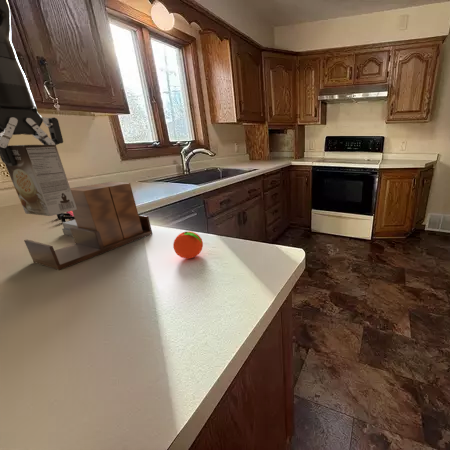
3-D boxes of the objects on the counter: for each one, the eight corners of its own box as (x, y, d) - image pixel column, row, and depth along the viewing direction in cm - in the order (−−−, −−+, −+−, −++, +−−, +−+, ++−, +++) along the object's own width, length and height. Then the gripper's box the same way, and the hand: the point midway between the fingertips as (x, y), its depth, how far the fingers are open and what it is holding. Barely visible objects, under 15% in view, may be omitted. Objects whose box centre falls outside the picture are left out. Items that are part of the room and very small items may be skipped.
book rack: (58, 270, 59) (30, 201, 53) (33, 262, 64) (4, 197, 58) (152, 233, 81) (139, 181, 75) (128, 229, 85) (114, 180, 79)
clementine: (213, 253, 65) (209, 228, 63) (195, 265, 59) (189, 238, 57) (190, 249, 68) (185, 226, 66) (169, 261, 62) (164, 235, 60)
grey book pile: (83, 238, 79) (78, 226, 77) (63, 234, 83) (59, 223, 81) (109, 230, 85) (106, 219, 84) (90, 226, 90) (87, 216, 88)
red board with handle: (70, 229, 86) (119, 219, 97) (67, 221, 85) (118, 212, 96) (55, 216, 104) (98, 208, 115) (52, 209, 103) (96, 202, 114)
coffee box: (23, 214, 60) (-6, 145, 54) (54, 207, 66) (31, 144, 60) (49, 216, 57) (22, 144, 52) (79, 209, 63) (57, 144, 58)
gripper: (38, 91, 60) (62, 161, 65) (-59, 79, 47) (-20, 167, 53) (55, 88, 57) (79, 161, 62) (-44, 74, 44) (-4, 168, 50)
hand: (33, 163), depth 58 cm, fingers closed on coffee box, 6 cm apart
